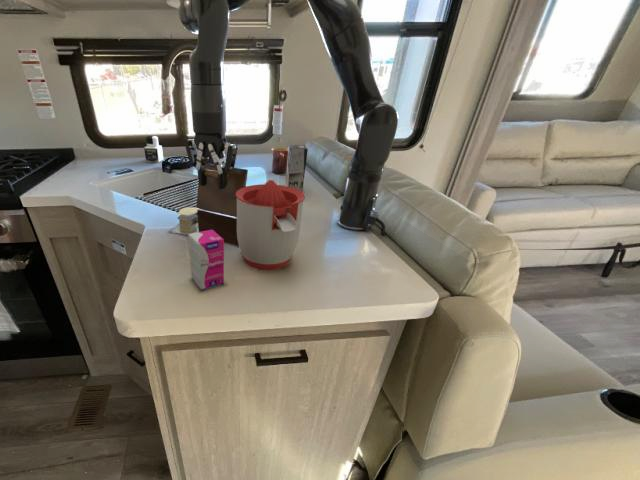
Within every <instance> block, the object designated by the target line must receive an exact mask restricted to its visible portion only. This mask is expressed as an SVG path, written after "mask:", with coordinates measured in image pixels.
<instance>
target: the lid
mask: <svg viewBox="0 0 640 480" xmlns="http://www.w3.org/2000/svg"><path fill="white" fill-rule="evenodd" d="M205 169H206V170H205V171H204V175H205V176H207V184H206V185H204V186H201V185H200V183H199V181H198V183H197V194H196V195H197V196H196V206H195V208H198V209H203V210H207V211H212V212H216V213H221V214H225V215H230V216H234V217H237V197H236V192H237V191H238V190H239V189H241V188H244V187H247V180H248V173H249V169H246V168H241V167H234V169H233V170H231V171H229V172H227V186H226V187H225V188H224V189H219V187H218V174H219V172H218V169H217V166H216V165H215V164H214V163H208V162H206V167H205Z"/></svg>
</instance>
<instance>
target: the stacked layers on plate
mask: <svg viewBox="0 0 640 480" xmlns="http://www.w3.org/2000/svg"><path fill="white" fill-rule="evenodd" d="M197 210H198V208H196V206H195V207H191V206H186V207H183V208H181V209H180V210H179V211H178V212H177V215H178V216H177V220H178V221H179V223H178V224H177V225H178V226H176V227H175V228H173V229H172V230H171V231H169V233H173V234H178V235H179V234H180V235H184V236H185V235H186V236H189V234H191V233H196V232H199V228H198V213H197Z"/></svg>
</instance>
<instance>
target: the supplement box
mask: <svg viewBox="0 0 640 480" xmlns="http://www.w3.org/2000/svg"><path fill="white" fill-rule="evenodd" d="M188 247H189V261H190V263H189V264H190V274H191V275H190V276H191V281H192V283H194V284H195V285H196V287H197V289H199V291H200V292H203V291H205V290H208V289H212V288H213V289H214V288H216V287H220V286H221V287H222V286H224V285H225V242H224V239H223V238H222V237H220V236H219V235H218V234H217V233H216V232H215V231H214V230H207V231H202V232H196V233H191V234H189V235H188Z"/></svg>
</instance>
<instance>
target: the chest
mask: <svg viewBox="0 0 640 480" xmlns="http://www.w3.org/2000/svg"><path fill="white" fill-rule="evenodd" d="M197 213H198V228H199V232H202V231H207V230H214V231H215V232H216V233H217V234H218V235H219V236H220V237H222V238H223V239H224V243H225V244H230V245H234V246H237V247H239V244H238V239H237V217H234V216H230V215H225V214H221V213H216V212H212V211H207V210H203V209H198V210H197Z"/></svg>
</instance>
